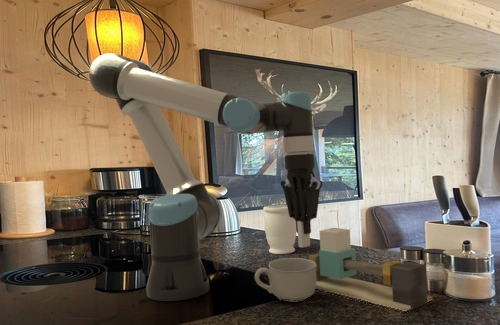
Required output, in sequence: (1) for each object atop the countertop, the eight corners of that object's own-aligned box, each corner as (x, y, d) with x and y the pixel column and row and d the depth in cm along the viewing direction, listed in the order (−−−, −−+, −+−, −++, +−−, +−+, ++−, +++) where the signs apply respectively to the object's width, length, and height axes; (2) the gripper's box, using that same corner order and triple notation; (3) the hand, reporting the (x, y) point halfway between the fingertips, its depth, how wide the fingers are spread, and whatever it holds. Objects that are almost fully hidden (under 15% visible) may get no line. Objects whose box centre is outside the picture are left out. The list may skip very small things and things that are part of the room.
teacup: (314, 289, 110) (312, 255, 110) (322, 304, 100) (320, 267, 99) (254, 293, 110) (252, 259, 110) (257, 309, 99) (254, 271, 99)
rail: (404, 313, 91) (402, 272, 91) (303, 286, 113) (301, 253, 113) (432, 301, 98) (430, 262, 97) (331, 277, 120) (329, 246, 119)
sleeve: (339, 279, 107) (337, 233, 107) (320, 275, 111) (317, 231, 111) (356, 274, 110) (354, 229, 110) (337, 270, 115) (334, 227, 115)
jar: (298, 247, 158) (295, 203, 158) (298, 254, 148) (295, 207, 148) (266, 249, 159) (264, 204, 159) (264, 255, 149) (262, 208, 149)
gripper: (328, 152, 116) (333, 246, 117) (292, 153, 126) (297, 241, 127) (307, 153, 111) (312, 252, 112) (271, 155, 122) (276, 245, 122)
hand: (304, 246), depth 119 cm, fingers closed
